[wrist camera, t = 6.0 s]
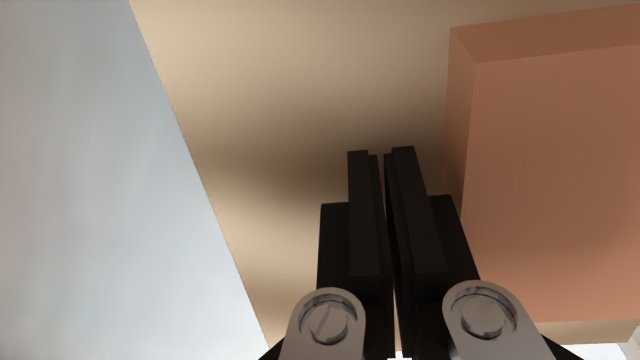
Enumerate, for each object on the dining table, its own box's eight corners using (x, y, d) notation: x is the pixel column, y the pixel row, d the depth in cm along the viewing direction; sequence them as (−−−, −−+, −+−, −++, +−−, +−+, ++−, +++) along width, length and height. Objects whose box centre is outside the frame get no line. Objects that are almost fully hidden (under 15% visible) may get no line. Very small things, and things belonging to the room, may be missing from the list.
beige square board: (59, -244, 7) (22, -260, 6) (1026, -465, 5) (1147, -525, 4) (275, 334, 18) (272, 355, 17) (613, 319, 16) (627, 342, 15)
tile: (450, 27, 8) (475, 63, 7) (887, -30, 7) (1033, -3, 6) (437, 272, 13) (450, 326, 12) (702, 256, 12) (755, 313, 11)
